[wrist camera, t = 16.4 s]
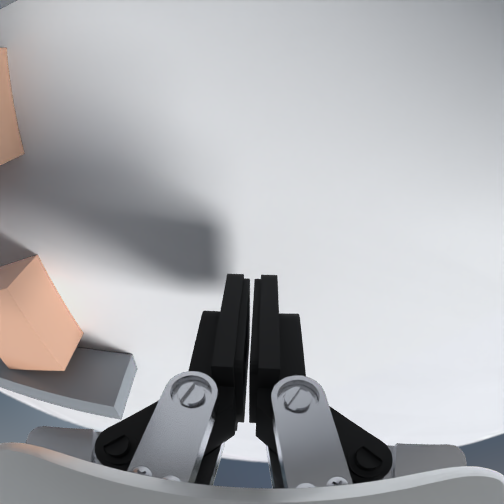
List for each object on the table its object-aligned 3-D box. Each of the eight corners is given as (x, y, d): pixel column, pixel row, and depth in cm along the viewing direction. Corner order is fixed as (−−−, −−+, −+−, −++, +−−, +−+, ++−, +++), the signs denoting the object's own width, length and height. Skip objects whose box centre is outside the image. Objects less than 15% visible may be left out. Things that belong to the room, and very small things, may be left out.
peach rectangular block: (40, 252, 13) (6, 288, 10) (85, 330, 15) (64, 370, 13) (-12, 269, 13) (-41, 299, 11) (29, 335, 16) (9, 368, 13)
